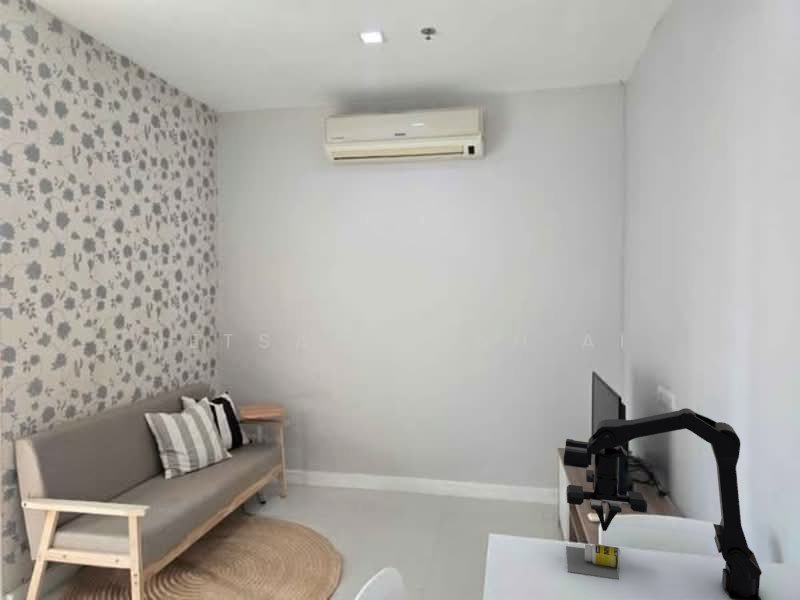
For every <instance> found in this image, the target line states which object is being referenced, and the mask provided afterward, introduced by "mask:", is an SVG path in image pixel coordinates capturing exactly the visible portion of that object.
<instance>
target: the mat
mask: <svg viewBox="0 0 800 600" xmlns="http://www.w3.org/2000/svg"><path fill="white" fill-rule="evenodd" d="M565 547H566V549H565V550H567V551H566V561H567V562H566V563H567V564H568V565H567V573H569V572H570V574H577V575H584V576H590V577H591V576H592V577H597V578H605V579H609V580H610V579H611V580H617V581H618V580H619V581H620V576H619V571H618V568H616V567H610V566H605V565H598V564H594V563H593V562H592V561H585V547H584V548H583V547H575V546H569V545H566V546H565Z"/></svg>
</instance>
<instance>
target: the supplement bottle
mask: <svg viewBox="0 0 800 600" xmlns="http://www.w3.org/2000/svg"><path fill="white" fill-rule="evenodd" d="M584 548H585V561H592V562H593V563H594V564H598V565H605V566H610V567H616V568H617V569H618V568H619V569H620V568H621V549H620V547H617V546H611V545H605V544H597V543H593V544H592V545H591V544H590V543H589V544H587V543H585V544H584Z"/></svg>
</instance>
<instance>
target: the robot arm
mask: <svg viewBox="0 0 800 600" xmlns="http://www.w3.org/2000/svg"><path fill="white" fill-rule="evenodd" d="M680 430H687V431H689V432H691V433H693V434H695V435H696V436H697V437H699V438H701V439H702V440H703V441H705V442H707V443H708V444H710V447H711V451H712V453H713V457H714V460H715V464H716V473H717V475H716V476H717V484H718V485H717V486H718V495H719V505H720V517H721V518H720V523H719V524H715V523H712V524H713V528H714V531H715V536H714V542H715V546H716V549H717V551H718V554H721V555H722V558H723V561H725V568H722V578H721V580H722V581H721V584H722V585H721V586H722V587H723V589H724V591H725V592H726V593H727V596H728V597H729V598H730V599H733V600H734V599H735V600H762V598H761V596H760V585H761V583H760V581H761V575H762V574H763V572H762V570H761V567H760V566H759V563H758V560H757V558H756V556H755V554H754V552H753V550H752V549H750V547H749V545H748V541H747V538H746V536H745V533H744V532H745V531H744V530H743V526H742V519H741V507H740V506H741V505H740V496H739V495H740V494H739V487H738V485H739V484H738V471H737V465H738V462H739V459H740V452H741V438H740V437H739V436H738V434H737V433H736V431H735V429H734V427H733V426H731V425H730V424H728V423H726V422H721V421H720V422H717V421H716V420H714V419H711V418H710V417H707V416H705V415H702V414H699V413H697V412H695V411H694V410H692V409H691V408H688V407H687V408H684V407H683V408H681V409H679V410H675V411H669V412H665V413H660V414H659V413H658V414H655V415H651V416H645V417H640V418H636V419H635V418H634V419H621V418H613V419H603V420H600V421H599V422H598V424H597V425H596V428H595V432H594V433H593V434H592V435H591V436H590V437H589V438H588V441H582V440H574V439H571V438H566V440H565V448H564V454H563V466H564V467H570V468H571V467H572V468H578V469H585V481H586V483H592V486H591V487H592V490H593V491H585V490H584V487H583V486H582V485H575V484H568V485H567V486H566V492H565V493H566V502H567V504H570V505H577V506H581V505H583V503H584V500H587V501H589V506H590V509H591V510H594V511H595V513H596V514H597V517H598V519H599V523H600V527H601V529H602V531H603V532H607V530H608V529H609V526H610V525H611V523H612V521H613V519H614V518H615V516H617V514H618V513H619V514H621V513H622V512H623V511H622V510H623V509H622V507H621V506H622V504H624V505H629V509H631V511H633V512H636V513H644V514H645V513H647V512H648V502H647V500H646V497H645V495H644V494H643V492H639V491H630V490H628V491H626V495H621V494H619V471H620V470H619V469H620V467H619V466H620V458H623V459H627V458H628V451H627V450H626V449H625V448H623V445H625V444H627V443H629V442H630V441H632V440H635V439H637V438H642V437H643V438H644V437H648V436H654V435H660V434H664V433H669V432H674V431H680ZM593 455H594V470H593V469H588V468H589V467H590V466H592V464H593ZM603 502H606V509H605V512H604V506H603ZM604 513H605V514H604Z"/></svg>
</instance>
